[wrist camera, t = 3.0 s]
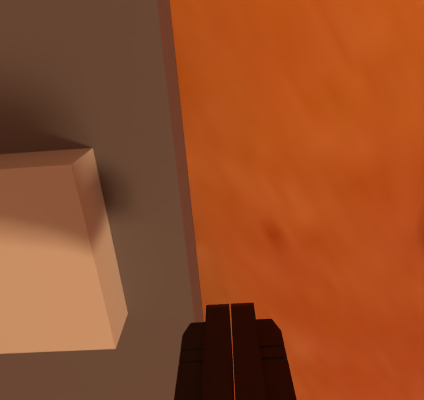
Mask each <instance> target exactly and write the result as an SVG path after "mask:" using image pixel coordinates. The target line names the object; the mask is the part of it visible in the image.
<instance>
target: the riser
mask: <svg viewBox="0 0 424 400" xmlns="http://www.w3.org/2000/svg"><path fill="white" fill-rule="evenodd" d="M82 148H93V151H94V156H95V161H96V165H97V170H98V175H99V180H100V184H101V189H102V194H103V198H104V203H105V208H106V213H107V217H108V222H109V227H110V231H111V236H112V241H113V246H114V250H115V255H116V260H117V264H118V269H119V274H120V279H121V283H122V288H123V293H124V297H125V302H126V307H127V312H128V315H127V318H126V320H125V323H124V326H123V329H122V332H121V335H120V338H119V341H118V344H117V346H116V349H102V350H78V351H54V352H30V353H6V354H0V400H174V395H175V387H176V380H177V372H178V365H179V357H180V352H181V350H180V349H181V342H182V335H183V333H184V332H185V330H186V329H187V327H188V326H189V324H190V323H194V322H204V320H203V311H202V301H201V292H200V283H199V273H198V264H197V255H196V245H195V236H194V226H193V217H192V208H191V198H190V189H189V180H188V170H187V161H186V152H185V142H184V133H183V123H182V114H181V105H180V95H179V86H178V77H177V67H176V58H175V48H174V39H173V30H172V20H171V11H170V2H169V0H0V154H10V153H25V152H39V151H54V150H68V149H82Z"/></svg>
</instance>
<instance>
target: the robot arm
mask: <svg viewBox="0 0 424 400" xmlns="http://www.w3.org/2000/svg"><path fill="white" fill-rule="evenodd" d="M231 317H232V338H233V357H232V340H231V326H230V311H229V304H218V305H207V306H206V322H194V323H190V324H189V326H188V327H187V329H186V330H185V332H184V333H183V335H182V342H181V349H180V350H181V352H180V357H179V365H178V372H177V380H176V387H175V395H174V400H234V380H235V400H296V395H295V391H294V386H293V382H292V377H291V373H290V369H289V364H288V360H287V355H286V351H285V348H284V342H283V337H282V333H281V330H280V329H279V328H278V326H277V325H276V324H275V323H274V321H273V320H272V319H257V320H256V318H255V310H254V304H253V303H237V304H231ZM233 359H234V379H233Z"/></svg>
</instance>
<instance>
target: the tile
mask: <svg viewBox="0 0 424 400" xmlns="http://www.w3.org/2000/svg"><path fill="white" fill-rule="evenodd" d="M127 315H128V312H127V307H126V302H125V297H124V293H123V288H122V283H121V279H120V274H119V269H118V264H117V260H116V255H115V250H114V246H113V241H112V236H111V231H110V227H109V222H108V217H107V213H106V208H105V203H104V198H103V194H102V189H101V184H100V180H99V175H98V170H97V165H96V161H95V156H94V151H93V148H82V149H68V150H54V151H39V152H25V153H10V154H0V354H6V353H30V352H54V351H78V350H102V349H116V346H117V344H118V341H119V338H120V335H121V332H122V329H123V326H124V323H125V320H126V318H127Z"/></svg>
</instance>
